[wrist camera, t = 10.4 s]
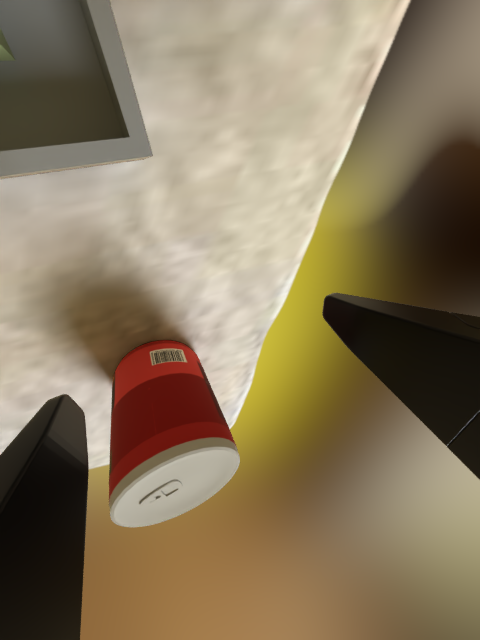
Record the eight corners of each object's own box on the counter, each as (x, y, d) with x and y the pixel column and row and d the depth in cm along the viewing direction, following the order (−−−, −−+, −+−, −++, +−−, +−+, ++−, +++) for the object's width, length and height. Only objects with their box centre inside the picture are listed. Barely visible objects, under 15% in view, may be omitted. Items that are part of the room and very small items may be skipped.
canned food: (91, 372, 19) (71, 525, 11) (170, 321, 20) (207, 429, 12) (148, 408, 24) (164, 532, 16) (210, 366, 25) (256, 465, 17)
